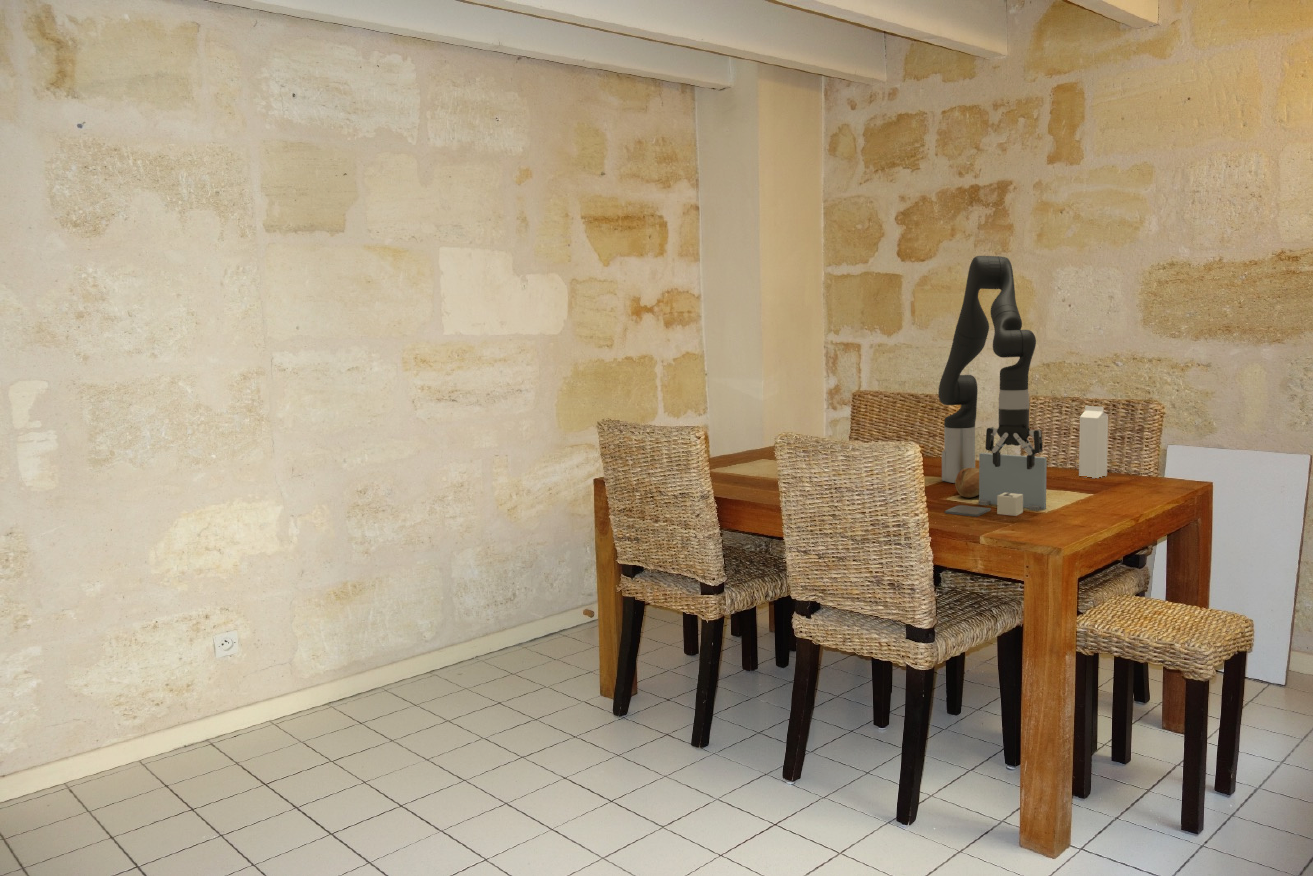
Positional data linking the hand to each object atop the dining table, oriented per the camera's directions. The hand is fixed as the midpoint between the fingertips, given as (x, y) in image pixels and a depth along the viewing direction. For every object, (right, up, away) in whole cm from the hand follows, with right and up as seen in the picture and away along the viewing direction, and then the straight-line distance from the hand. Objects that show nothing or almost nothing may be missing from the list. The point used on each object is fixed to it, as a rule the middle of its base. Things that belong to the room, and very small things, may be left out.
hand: (1013, 467), depth 261 cm
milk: (+42, -4, +48) cm, 64 cm away
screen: (+4, -11, +12) cm, 16 cm away
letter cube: (0, -12, +3) cm, 13 cm away
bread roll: (-2, -9, +28) cm, 30 cm away
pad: (-10, -12, +7) cm, 17 cm away
